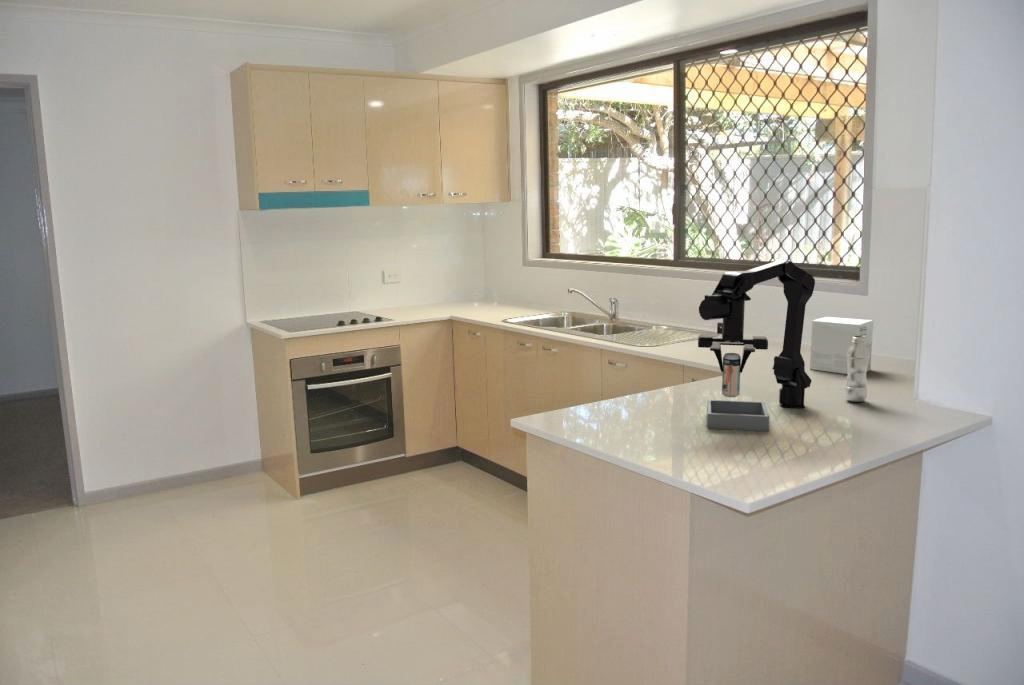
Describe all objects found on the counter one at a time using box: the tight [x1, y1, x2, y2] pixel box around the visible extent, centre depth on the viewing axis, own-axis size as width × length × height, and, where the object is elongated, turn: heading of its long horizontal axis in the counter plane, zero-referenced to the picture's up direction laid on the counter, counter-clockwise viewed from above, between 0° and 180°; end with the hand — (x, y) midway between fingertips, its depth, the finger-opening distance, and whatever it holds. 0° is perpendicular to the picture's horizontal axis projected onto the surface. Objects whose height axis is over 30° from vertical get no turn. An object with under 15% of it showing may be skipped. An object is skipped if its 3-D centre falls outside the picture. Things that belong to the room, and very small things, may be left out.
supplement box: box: [809, 316, 874, 375], centre depth 288 cm, size 17×13×18 cm
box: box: [706, 399, 770, 432], centre depth 225 cm, size 16×16×4 cm
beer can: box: [721, 352, 742, 398], centre depth 228 cm, size 5×5×12 cm
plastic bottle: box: [843, 336, 870, 403], centre depth 243 cm, size 6×7×20 cm
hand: (731, 372), depth 228 cm, fingers closed on beer can, 5 cm apart
